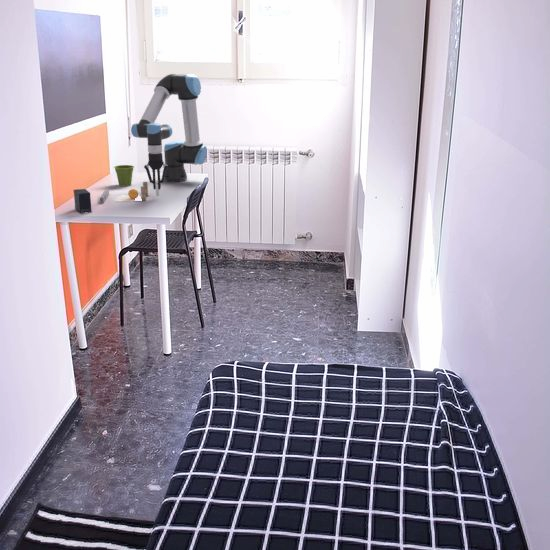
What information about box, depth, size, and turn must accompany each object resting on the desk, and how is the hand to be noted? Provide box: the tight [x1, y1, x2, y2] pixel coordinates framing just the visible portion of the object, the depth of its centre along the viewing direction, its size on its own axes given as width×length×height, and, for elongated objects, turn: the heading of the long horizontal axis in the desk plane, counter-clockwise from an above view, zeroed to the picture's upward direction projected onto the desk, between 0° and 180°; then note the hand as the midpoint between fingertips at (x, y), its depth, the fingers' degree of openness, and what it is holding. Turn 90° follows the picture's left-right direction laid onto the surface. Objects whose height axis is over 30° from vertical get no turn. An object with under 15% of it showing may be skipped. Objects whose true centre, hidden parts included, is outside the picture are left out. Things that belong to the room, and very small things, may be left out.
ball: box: [127, 188, 139, 199], centre depth 369 cm, size 6×6×6 cm
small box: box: [73, 188, 92, 214], centre depth 343 cm, size 11×6×10 cm, turn 29°
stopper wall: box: [99, 189, 110, 204], centre depth 368 cm, size 20×2×3 cm, turn 5°
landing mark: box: [115, 195, 135, 203], centre depth 370 cm, size 14×14×1 cm
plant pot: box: [113, 164, 135, 187], centre depth 400 cm, size 12×12×11 cm
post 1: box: [142, 181, 149, 197], centre depth 375 cm, size 2×2×8 cm
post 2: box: [140, 185, 147, 202], centre depth 363 cm, size 2×2×8 cm
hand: (157, 195), depth 370 cm, fingers closed
